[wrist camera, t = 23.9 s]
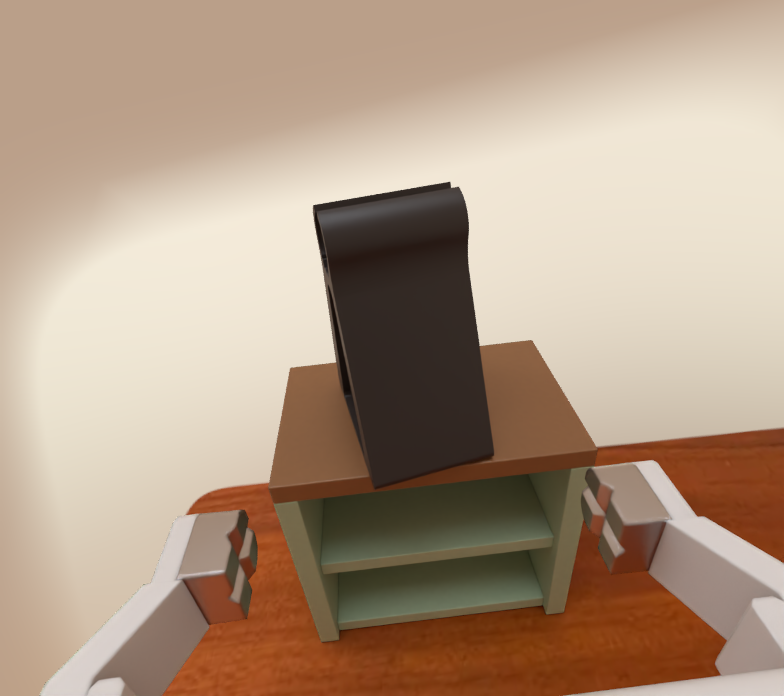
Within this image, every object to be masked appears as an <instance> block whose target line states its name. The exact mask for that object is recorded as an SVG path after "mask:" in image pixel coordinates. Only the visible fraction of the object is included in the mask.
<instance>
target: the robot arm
mask: <svg viewBox="0 0 784 696" xmlns="http://www.w3.org/2000/svg"><path fill="white" fill-rule="evenodd" d="M585 480H586V482H587V484H588V486H587V487H586V488H585V489H584V490H583V491H582V495H581V508H582V514H583V517H584V520H585V523H586V525H587V527H588V529H589V531H590V532H591V533H593V534H594V535H596V536H597V537H598V538H600V541H599V545H598V549H599V552H600V554H601V556H602V558H603V560H604V562H605V564H606V566H607V568H608V570H609V572H610V574H622V573H633V572H643V571H648V573H649V574H650V575H651V576H652V577H653V578H654V579H656V580H657V581H658V582H659V583H660V584H661V585H663V586H664V587H665V588H666V589H667V590H668V591H670V592H671V593H672V594H673V595H674V596H676V597H677V598H678V599H679V600H680V601H681V602H683V603H684V604H685V605H686V606H687V607H688V608H690V609H691V610H692V611H693V612H694V613H695V614H697V615H698V616H699V617H700V618H701V619H702V620H704V621H705V622H706V623H707V624H708V625H710V626H711V627H712V628H713V629H714V630H715V631H717V632H718V633H719V634H720V635H721V636H722V637H724V638H725V639H726V640H727V642H726V644H725V645H724V647H723V649H722V650H721V652H720V654H719V655H718V657H717V659H716V662H715V665H716V667H717V669H718V671H719V672H720V674H721V676H716V677H708V678H700V679H692V680H684V681H676V682H668V683H660V684H652V685H644V686H636V687H629V688H621V689H613V690H605V691H597V692H589V693H581V694H573V695H565V696H784V563H782V562H780V561H779V560H777V559H775V558H774V557H772V556H770V555H769V554H767V553H765V552H763V551H762V550H760V549H758V548H757V547H755V546H753V545H752V544H750V543H748V542H746V541H745V540H743V539H741V538H740V537H738V536H736V535H735V534H733V533H731V532H730V531H728V530H726V529H724V528H723V527H721V526H719V525H718V524H716V523H714V522H713V521H711V520H709V519H707V518H706V517H697V516H696V514H695V513H694V512H693V510H692V509H691V508H690V506H689V505H688V504H687V502H686V501H685V500H684V498H683V497H682V495H681V494H680V493H679V491H678V490H677V489H676V487H675V486H674V485H673V483H672V482H671V481H670V479H669V478H668V477H667V475H666V474H665V473H664V471H663V470H662V469H661V467H660V466H659V464H658V463H656V462H655V461H653V460H650V461H642V462H633V463H622V464H614V465H607V466H599V467H592V468H589V469H588V470H587V471H586V475H585ZM248 519H249V518H248V516H247V514H246V512H245V510H235V511H224V512H214V513H203V514H194V515H184V516H178V517H177V518H176V519H175V521H174V522H173V523H172V526H171V529H170V532H169V534H168V537H167V540H166V542H165V545H164V548H163V551H162V553H161V556H160V559H159V562H158V564H157V567H156V570H155V572H154V575H153V578H152V581H151V583H148V584H144V585H143V586H142V587H141V588H140V589H139V590H138V591H137V592H136V593H135V594H134V595H133V596H132V597H131V598H130V599H129V600H128V601H127V602H126V603H125V604H124V605H123V606H122V607H121V608H120V609H119V610H118V611H117V612H116V613H115V614H114V615H113V616H112V617H111V618H110V619H109V620H108V621H107V622H106V623H105V624H104V625H103V626H102V627H101V628H100V629H99V630H98V631H97V632H96V633H95V634H94V635H93V636H92V637H91V638H90V639H89V640H88V641H87V642H86V643H85V644H84V645H83V646H82V647H81V648H80V649H79V650H78V651H77V652H76V653H75V654H74V655H73V656H72V657H71V658H70V659H69V660H68V661H67V662H66V663H65V664H64V665H63V666H62V667H61V668H60V669H59V671H57V672H56V673H55V674H54V675H53V676H52V677H51V678H50V679H49V681H47V682H46V684H45V685H44V687H43V689H42V691H41V693H40V695H39V696H162V695H163V694H164V692H165V691H166V689H167V688H168V686H169V685H170V683H171V682H172V681H173V679H174V678H175V676H176V675H177V673H178V672H179V671H180V669H181V668H182V666H183V665H184V663H185V662H186V660H187V659H188V658H189V656H190V655H191V653H192V652H193V650H194V649H195V648H196V646H197V645H198V643H199V642H200V640H201V639H202V638H203V636H204V635H205V633H206V632H207V630H208V629H209V625H212V624H218V623H225V622H232V621H238V620H245V619H247V616H248V611H249V605H250V600H251V594H252V589H251V586H250V584H249V582H248V580H249V579H250V578H251V576H252V575H253V574H254V573H255V571H256V565H257V541H256V536H255V534H254V531H253V530H251V529H250V528H248V527H247V524H248Z"/></svg>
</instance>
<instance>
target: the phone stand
mask: <svg viewBox="0 0 784 696" xmlns="http://www.w3.org/2000/svg"><path fill="white" fill-rule="evenodd" d="M313 215H314V222H315V228H316V234H317V239H318V244H319V249H320V255H321V261H322V266H323V273H324V280H325V287H326V294H327V301H328V308H329V315H330V321H331V329H332V336H333V342H334V350H335V356H336V363H337V370H338V377H339V382H340V386H341V389H342V392H343V395H344V398H345V401H346V404H347V407H348V410H349V413H350V417H351V420H352V423H353V426H354V428H355V432H356V435H357V438H358V441H359V444H360V447H361V450H362V454H363V457H364V460H365V463H366V466H367V469H368V472H369V475H370V478H371V481H372V484H373V487H374V490H377V489H381V488H384V487H388V486H391V485H394V484H398V483H401V482H405V481H408V480H412V479H415V478H419V477H422V476H426V475H429V474H433V473H436V472H439V471H443V470H446V469H450V468H453V467H457V466H460V465H464V464H467V463H471V462H474V461H478V460H481V459H484V458H488V457H491V456H494V447H493V439H492V432H491V425H490V418H489V411H488V403H487V396H486V389H485V382H484V375H483V368H482V360H481V353H480V346H479V339H478V332H477V324H476V317H475V310H474V303H473V296H472V289H471V281H470V274H469V266H468V235H469V222H468V213H467V208H466V203H465V200H464V197H463V194H462V192H461V190H460V188H459V187H455V188H451V184H450V182H447V183H441V184H435V185H429V186H423V187H417V188H411V189H406V190H400V191H394V192H389V193H382V194H376V195H370V196H365V197H359V198H353V199H347V200H342V201H335V202H329V203H324V204H318V205H313Z"/></svg>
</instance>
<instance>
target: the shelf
mask: <svg viewBox="0 0 784 696" xmlns="http://www.w3.org/2000/svg"><path fill="white" fill-rule="evenodd" d="M480 353H481V360H482V368H483V375H484V382H485V389H486V396H487V403H488V411H489V418H490V425H491V432H492V439H493V447H494V456H491V457H488V458H484V459H481V460H478V461H474V462H471V463H467V464H464V465H460V466H457V467H453V468H450V469H446V470H443V471H439V472H436V473H433V474H429V475H426V476H422V477H419V478H415V479H412V480H408V481H405V482H401V483H398V484H394V485H391V486H388V487H384V488H381V489H377V490H374V487H373V484H372V481H371V478H370V475H369V472H368V469H367V466H366V463H365V460H364V457H363V454H362V450H361V447H360V444H359V441H358V438H357V435H356V432H355V428H354V426H353V423H352V420H351V417H350V413H349V410H348V407H347V404H346V401H345V398H344V395H343V392H342V389H341V386H340V382H339V377H338V370H337V363H329V364H320V365H312V366H303V367H295V368H290V372H289V377H288V383H287V388H286V394H285V399H284V405H283V411H282V416H281V421H280V427H279V432H278V438H277V443H276V449H275V454H274V460H273V465H272V471H271V477H270V482H269V487H268V489H269V492H270V495H271V497H272V500H273V503H274V507H275V510H276V513H277V515H278V518H279V521H280V524H281V527H282V530H283V533H284V536H285V539H286V541H287V544H288V547H289V550H290V553H291V556H292V559H293V562H294V565H295V568H296V570H297V573H298V576H299V579H300V582H301V585H302V588H303V591H304V594H305V596H306V599H307V602H308V605H309V608H310V611H311V614H312V617H313V620H314V623H315V625H316V628H317V631H318V634H319V637H320V640H321V642H327V641H335V640H339V629H340V630H346V629H354V628H362V627H370V626H379V625H387V624H395V623H403V622H411V621H419V620H427V619H436V618H444V617H452V616H460V615H468V614H476V613H485V612H493V611H501V610H509V609H517V608H525V607H533V606H542V605H543V607H544V610H545V613H546V614H555V613H563V612H564V609H565V604H566V600H567V595H568V590H569V585H570V581H571V576H572V571H573V566H574V562H575V557H576V552H577V547H578V543H579V538H580V533H581V528H582V524H583V519H584V517H583V514H582V508H581V495H582V491H583V490H584V489H585V488H586V487H587V486H588V484H587V482H586V480H585V475H586V471H587V470H588V469H589V468H592V467H594V465H595V460H596V455H597V451H598V449H597V447H596V446H595V444H594V442H593V441H592V439H591V437H590V436H589V434H588V432H587V431H586V429H585V427H584V426H583V424H582V422H581V421H580V419H579V417H578V416H577V414H576V412H575V411H574V409H573V408H572V406H571V404H570V402H569V401H568V399H567V398H566V396H565V394H564V393H563V391H562V389H561V388H560V386H559V384H558V383H557V381H556V379H555V378H554V376H553V375H552V373H551V371H550V369H549V368H548V366H547V364H546V363H545V361H544V360H543V358H542V356H541V355H540V353H539V351H538V350H537V348H536V346H535V345H534V343H533V341H531V340H528V341H520V342H511V343H502V344H494V345H486V346H480Z"/></svg>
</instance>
